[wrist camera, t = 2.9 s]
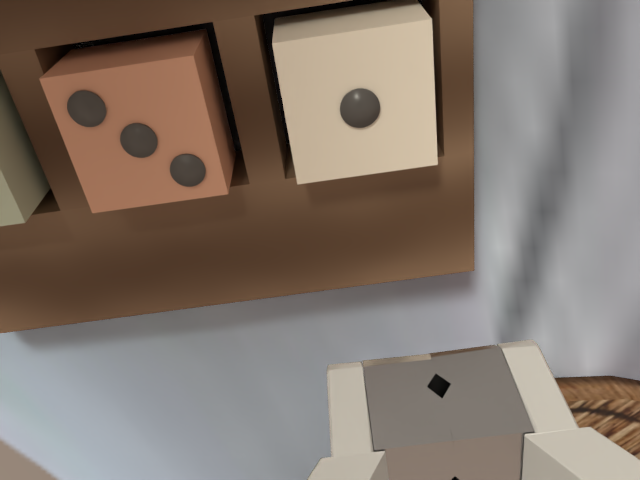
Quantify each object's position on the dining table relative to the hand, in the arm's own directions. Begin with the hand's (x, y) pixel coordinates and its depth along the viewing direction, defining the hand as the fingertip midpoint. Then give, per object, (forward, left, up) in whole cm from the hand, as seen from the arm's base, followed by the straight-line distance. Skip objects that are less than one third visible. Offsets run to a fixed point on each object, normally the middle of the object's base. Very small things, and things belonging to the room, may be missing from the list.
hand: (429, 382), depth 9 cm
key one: (0, 0, -14) cm, 14 cm away
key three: (0, -7, -14) cm, 16 cm away
